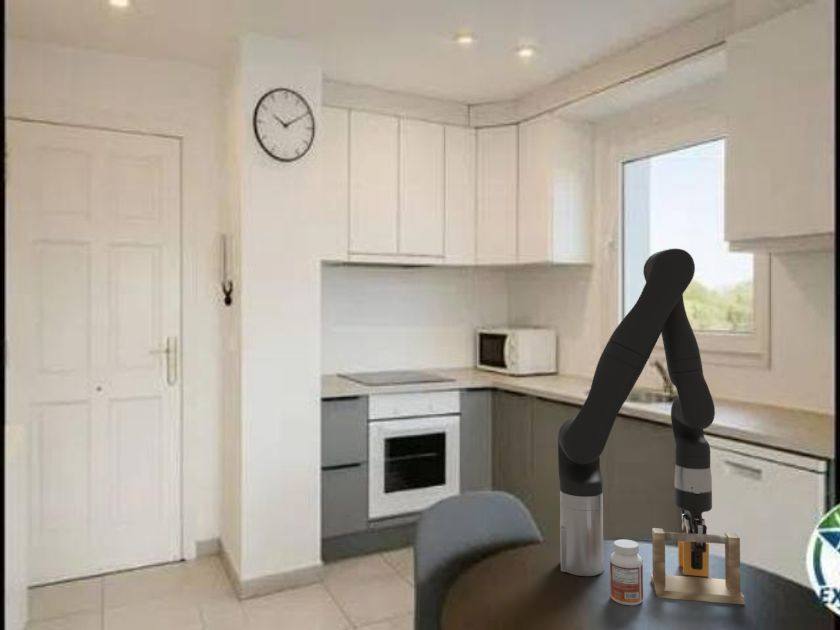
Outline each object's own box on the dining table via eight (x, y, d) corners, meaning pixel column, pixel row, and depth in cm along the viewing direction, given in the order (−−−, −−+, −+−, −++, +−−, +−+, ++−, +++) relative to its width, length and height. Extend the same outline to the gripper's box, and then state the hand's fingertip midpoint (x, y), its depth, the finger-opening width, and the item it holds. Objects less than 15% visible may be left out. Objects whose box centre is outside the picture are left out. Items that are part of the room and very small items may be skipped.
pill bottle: (621, 589, 128) (621, 535, 128) (649, 600, 123) (648, 543, 123) (604, 598, 124) (603, 542, 124) (631, 609, 119) (631, 551, 119)
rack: (657, 597, 124) (656, 537, 124) (651, 580, 132) (650, 524, 132) (744, 604, 121) (743, 542, 121) (732, 587, 128) (732, 528, 128)
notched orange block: (683, 574, 134) (683, 542, 134) (678, 564, 140) (678, 532, 140) (708, 576, 133) (708, 543, 133) (702, 565, 139) (702, 534, 139)
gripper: (668, 477, 144) (669, 549, 144) (681, 494, 130) (681, 574, 130) (703, 478, 143) (704, 552, 143) (720, 496, 129) (720, 577, 129)
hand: (693, 562), depth 137 cm, fingers closed on notched orange block, 6 cm apart
